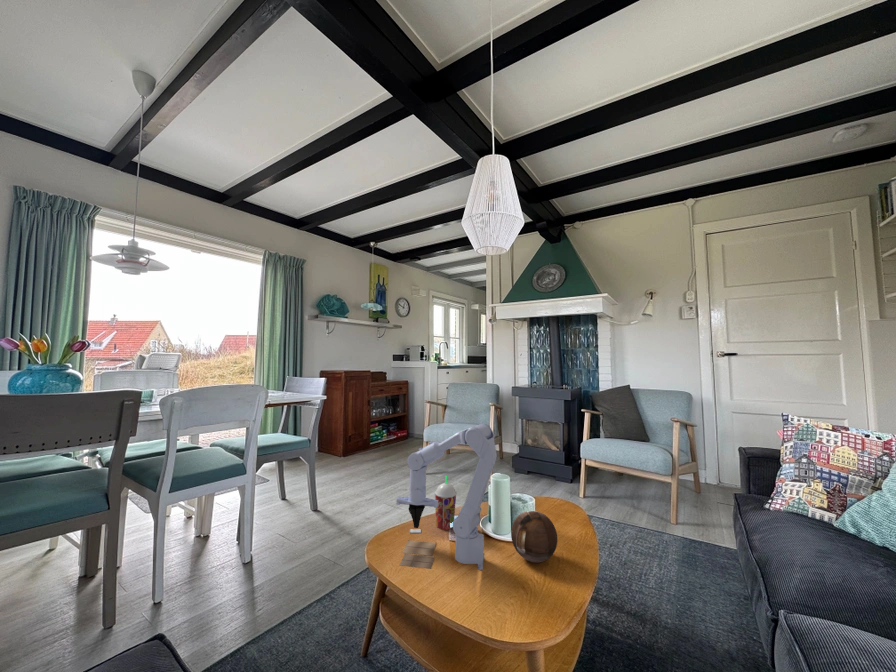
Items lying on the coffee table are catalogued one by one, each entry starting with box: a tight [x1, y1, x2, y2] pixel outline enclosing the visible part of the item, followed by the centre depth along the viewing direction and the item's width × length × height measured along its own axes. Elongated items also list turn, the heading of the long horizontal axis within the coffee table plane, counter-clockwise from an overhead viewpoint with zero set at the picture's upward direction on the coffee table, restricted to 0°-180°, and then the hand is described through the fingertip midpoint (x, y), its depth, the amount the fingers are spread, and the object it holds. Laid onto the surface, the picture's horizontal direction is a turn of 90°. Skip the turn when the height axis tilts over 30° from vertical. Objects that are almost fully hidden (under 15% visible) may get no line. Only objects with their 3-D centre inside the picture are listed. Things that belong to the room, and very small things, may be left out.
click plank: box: [401, 539, 437, 556], centre depth 120 cm, size 10×8×1 cm
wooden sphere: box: [510, 510, 558, 563], centre depth 118 cm, size 15×15×15 cm
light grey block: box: [409, 528, 422, 534], centre depth 131 cm, size 4×2×2 cm, turn 97°
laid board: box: [399, 553, 436, 570], centre depth 112 cm, size 10×7×2 cm
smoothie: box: [434, 475, 457, 531], centre depth 137 cm, size 8×8×20 cm
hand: (416, 526), depth 123 cm, fingers closed
